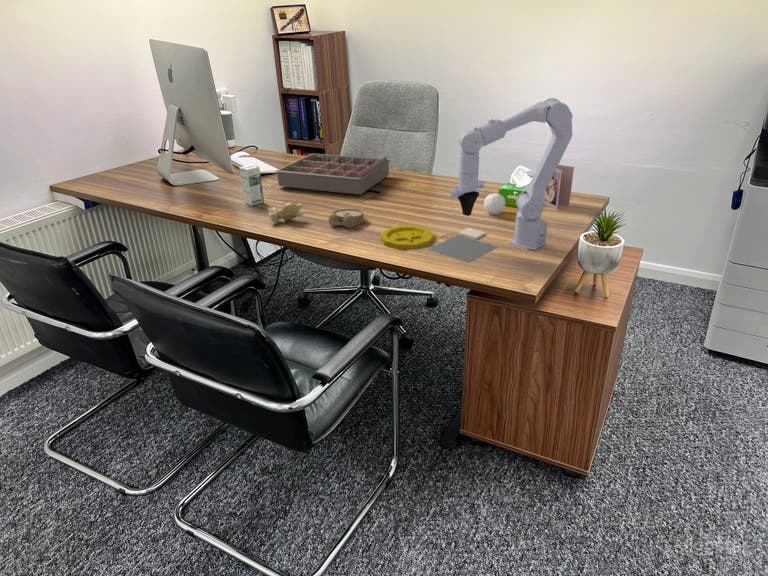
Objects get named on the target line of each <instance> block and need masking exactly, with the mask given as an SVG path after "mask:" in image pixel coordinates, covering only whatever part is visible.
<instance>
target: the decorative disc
mask: <svg viewBox="0 0 768 576" xmlns="http://www.w3.org/2000/svg"><path fill="white" fill-rule="evenodd" d="M434 239H435V234H434V233H433V232H432V231H431V229H430V228H428V227H427V228H426V227H422V226H419V225H397V226H394V227H393V226H392V227H390V228H389V227H388V228H386V229H385V230H384V231H383V232H381V234H380V240H381V242H382V243H383V245H384V246H386V247H388V248H392V249H397V250H406V249H416V248H421V247H424V246H428V245H430V243H432V242H433V240H434Z"/></svg>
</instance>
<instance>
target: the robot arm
mask: <svg viewBox="0 0 768 576" xmlns="http://www.w3.org/2000/svg"><path fill="white" fill-rule="evenodd" d="M573 116H574V115H573V114H572V111H571V109H570V108H569V106H568V105H567V104H565V102H561V101H560V100H558V99H557V98H554V97H551V98H547V99H545V100H544V101H543V100H542V101H539V102H537V103H535V104H533V105H532V106H531V105H530V107H528V108H525V109H523V110H522V111H519V112H518V113H515V114H513V115H510V116H509V117H507V118H505V119H503V120H500V119H498V118H495V119H493V118H490V119H488V120H487V121H488V122H487V123H485V124H483V125H480V126H478V127H477V126H474V127H473V128H472V129H473V130H470V129H469V130H465V131H464V132H463V133H462V134H461V135H460V138H459V140H458V143H459V145H460V147H461V148H460V156H459V175H458V183H457V184H455V189H452V190H451V192H450V193H451V195H450V197H451V198H452V199H458V201H459V203H460V206H461V211H462V215H464V216H466V217H470V216H471V215H472V213H473V209H474V206H475V203H476V201H477V199H478V198H479V196H480V192H479V191H478V190H479V189H483V188H485V181H483V180H479V169H480V168H479V167H480V150H481V149H482V147H485V146H488V145H491V144H492V143H495V142H497V141H499V140H502V139H503V138H505V136H506V134H507V132H509V131H511V130H514V129H516V128H519V127H522V126H524V125H527V124H529V123H532V122H537V123H541V124H542V123H544V124H548V127H549V129H550V131H551V134H552V136H551V138H550V141H549V142H548V145H547V146H546V149H545V151H544V153H543V155H542V157H541V159H540V162H539V163H538V165H537V167H536V169H535V172H534V174H533V175H532V178H531V180H530V183H528V184H527V185H526V186H525V187H524V189H523V190H522V192H521V193H520V194H519V195H518V196H517V197H516V200H515V204H516V208H517V209H518V211H517V213H516V214H515V225H514V235H513V236H514V237H513V238H512V239H510V240H508V243H509V244H513V245H516V246H519V247H522V248H525V249H528V250H531V251H535V250H537V249H539V248H541V247H542V246H544V245H547V240H546V239H547V233H548V232H547V231H548V222H547V221H546V220H544V219H542V218H541V215H542V212H543V205H544V203H543V202H544V200H545V191H546V188H547V186H548V184H549V182H550V180H551V178H552V176H553V174H554V172H555V170H556V168H557V166H558V165H560V163H561V160H562V159H563V156H564V154H565V152H566V150H567V149H568V145H569V144H570V141H571V140H572V139H573V138H572V137H573V120H572V119H573Z"/></svg>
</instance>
